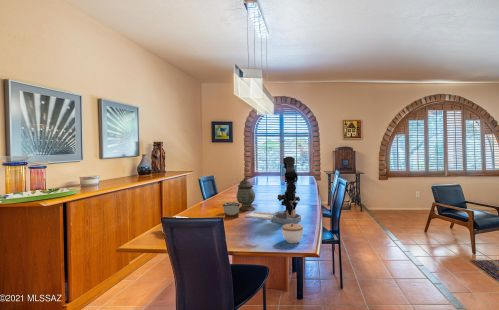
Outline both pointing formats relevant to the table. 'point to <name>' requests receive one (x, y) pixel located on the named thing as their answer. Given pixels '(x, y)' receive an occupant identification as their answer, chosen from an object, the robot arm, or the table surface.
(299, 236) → the lidded jar
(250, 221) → the table surface
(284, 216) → the gray chunky prism
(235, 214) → the food container
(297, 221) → the bowl
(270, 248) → the table surface
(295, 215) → the matte tan cube
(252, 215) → the parts tray
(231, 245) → the table surface
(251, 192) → the grey stone urn
